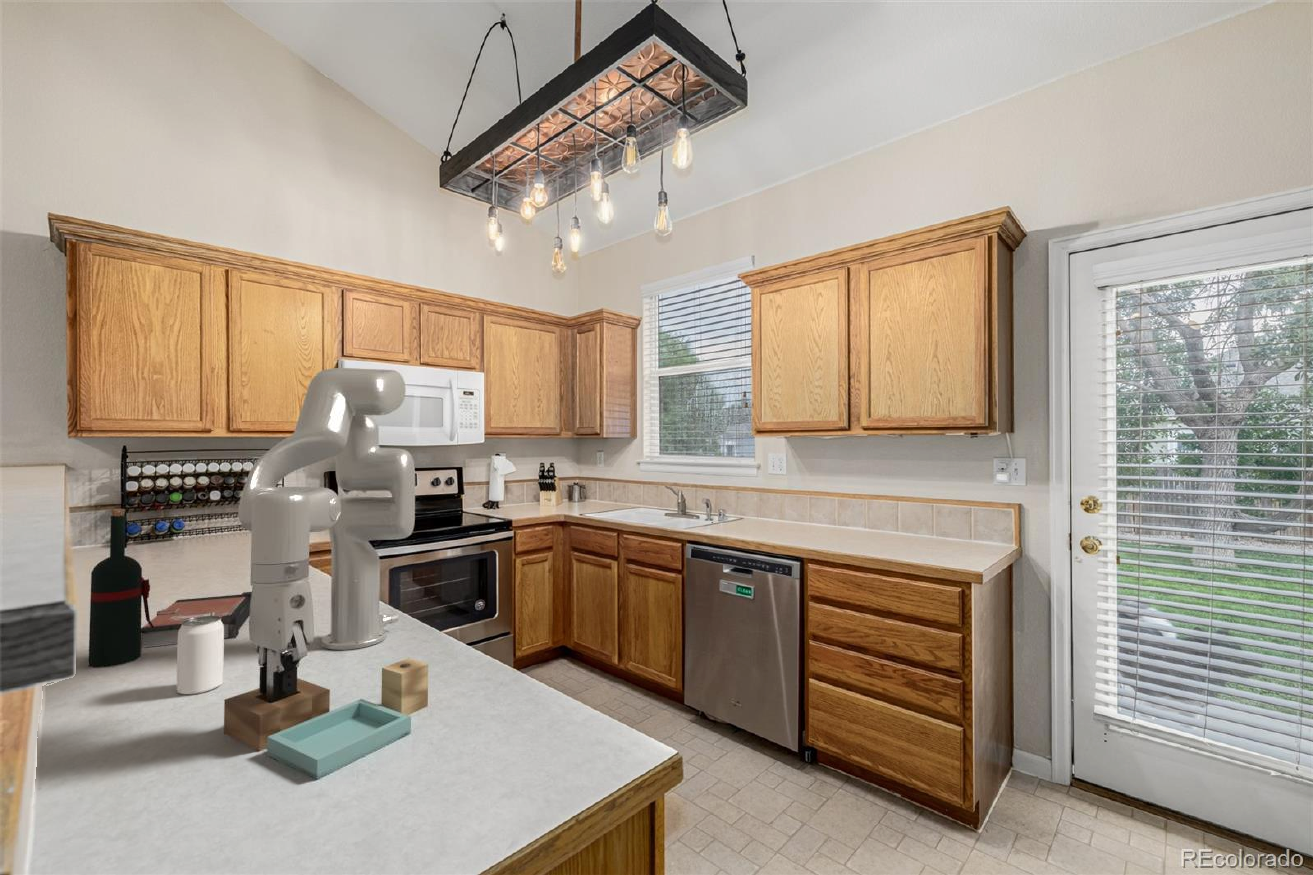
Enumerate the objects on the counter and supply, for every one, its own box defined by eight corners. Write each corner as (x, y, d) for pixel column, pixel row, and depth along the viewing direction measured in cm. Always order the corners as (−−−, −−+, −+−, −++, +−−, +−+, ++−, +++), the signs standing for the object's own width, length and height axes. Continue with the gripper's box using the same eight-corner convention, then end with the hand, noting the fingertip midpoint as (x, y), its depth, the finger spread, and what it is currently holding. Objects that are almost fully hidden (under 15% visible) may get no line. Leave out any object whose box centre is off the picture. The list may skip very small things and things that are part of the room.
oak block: (407, 699, 99) (408, 657, 99) (427, 706, 96) (428, 663, 96) (381, 711, 94) (381, 667, 94) (401, 718, 92) (401, 673, 92)
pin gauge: (282, 707, 90) (283, 642, 91) (293, 711, 89) (294, 645, 89) (261, 714, 88) (263, 648, 88) (272, 719, 86) (273, 651, 87)
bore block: (293, 707, 95) (293, 676, 95) (329, 721, 90) (329, 689, 90) (223, 733, 87) (224, 699, 87) (259, 751, 82) (260, 715, 82)
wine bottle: (162, 654, 119) (165, 508, 119) (95, 670, 110) (99, 512, 111) (146, 647, 123) (149, 505, 123) (81, 662, 114) (84, 510, 115)
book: (173, 618, 145) (174, 598, 145) (257, 610, 153) (257, 591, 153) (134, 652, 122) (134, 628, 122) (235, 640, 129) (235, 617, 129)
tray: (361, 714, 93) (361, 699, 93) (410, 733, 87) (410, 716, 87) (267, 754, 81) (267, 736, 81) (317, 779, 75) (317, 760, 75)
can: (197, 697, 99) (198, 626, 99) (166, 694, 100) (168, 624, 100) (232, 682, 105) (233, 616, 105) (202, 679, 106) (204, 613, 107)
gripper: (336, 573, 88) (334, 695, 88) (277, 562, 96) (275, 674, 96) (284, 583, 82) (281, 715, 81) (225, 570, 90) (223, 690, 89)
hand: (278, 691), depth 88 cm, fingers closed on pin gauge, 3 cm apart
